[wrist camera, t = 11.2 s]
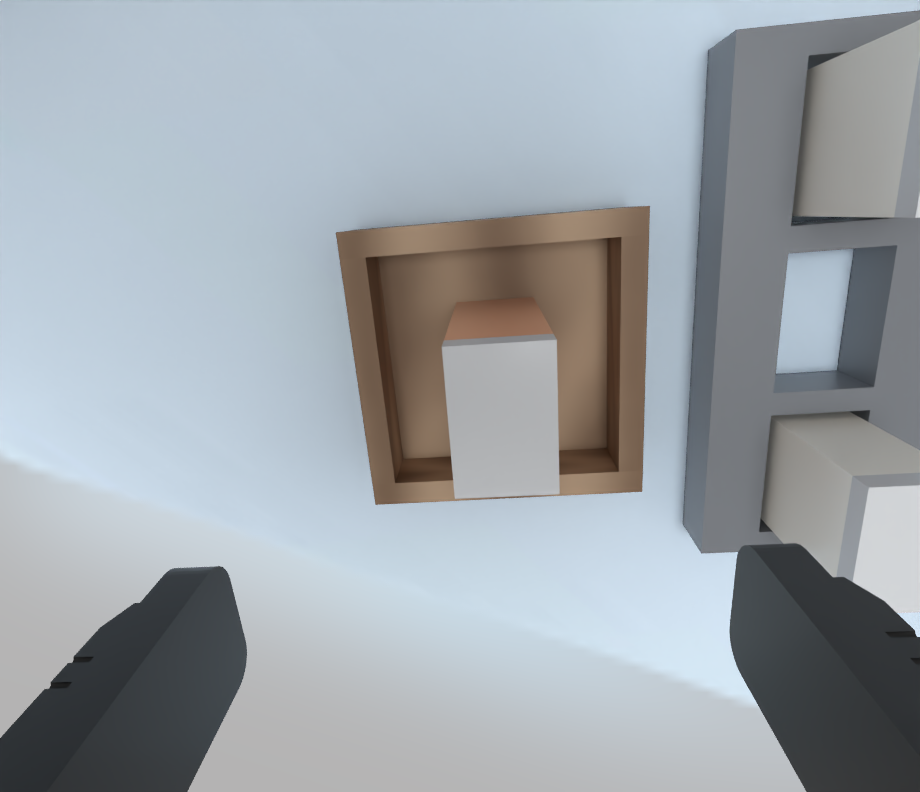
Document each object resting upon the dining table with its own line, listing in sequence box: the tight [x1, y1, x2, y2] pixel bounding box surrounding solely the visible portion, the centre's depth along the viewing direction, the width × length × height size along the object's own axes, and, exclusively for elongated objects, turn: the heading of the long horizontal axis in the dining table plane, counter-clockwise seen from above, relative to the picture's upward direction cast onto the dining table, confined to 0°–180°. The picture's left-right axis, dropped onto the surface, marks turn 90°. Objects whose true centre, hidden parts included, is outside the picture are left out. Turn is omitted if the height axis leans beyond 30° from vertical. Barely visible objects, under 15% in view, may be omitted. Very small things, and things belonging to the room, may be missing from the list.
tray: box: [336, 206, 650, 505], centre depth 29 cm, size 14×14×4 cm
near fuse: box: [792, 20, 920, 218], centre depth 22 cm, size 6×4×10 cm, turn 5°
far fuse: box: [760, 411, 920, 613], centre depth 27 cm, size 6×4×10 cm, turn 5°
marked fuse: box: [442, 297, 560, 499], centre depth 25 cm, size 6×4×10 cm, turn 4°
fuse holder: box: [683, 11, 920, 553], centre depth 28 cm, size 25×11×3 cm, turn 5°
